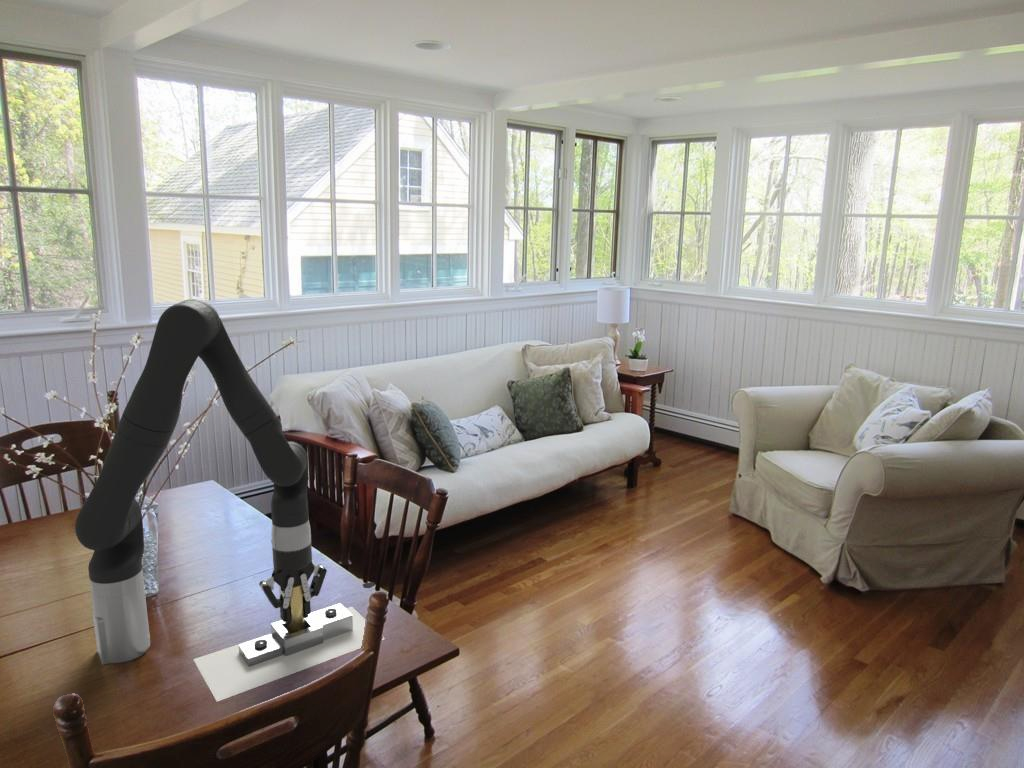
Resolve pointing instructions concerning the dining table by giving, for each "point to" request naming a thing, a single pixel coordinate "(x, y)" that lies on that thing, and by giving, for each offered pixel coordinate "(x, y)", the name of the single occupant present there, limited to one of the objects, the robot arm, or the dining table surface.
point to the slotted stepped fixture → (298, 635)
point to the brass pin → (296, 610)
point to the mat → (272, 662)
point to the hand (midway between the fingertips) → (296, 618)
